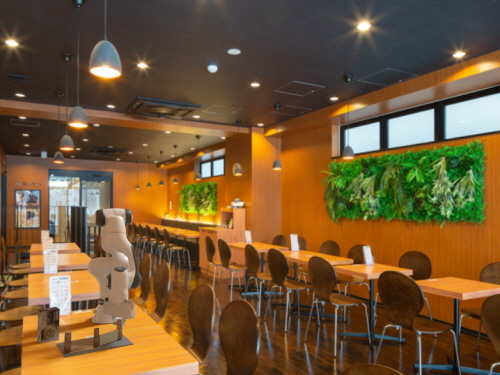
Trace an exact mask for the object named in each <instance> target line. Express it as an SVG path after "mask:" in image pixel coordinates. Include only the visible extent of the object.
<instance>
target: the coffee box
mask: <svg viewBox="0 0 500 375" xmlns="http://www.w3.org/2000/svg"><path fill="white" fill-rule="evenodd" d="M60 314H61V312H60V308H59V307H58V306H52V307H46V308H40V309H38V310H37V331H36V332H37V336H36V341H37V342H38V343H39V344H44V343H50V342H54V341H59V340H60Z"/></svg>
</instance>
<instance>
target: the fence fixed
mask: <svg viewBox="0 0 500 375" xmlns="http://www.w3.org/2000/svg"><path fill="white" fill-rule="evenodd" d="M99 335H100V328H99V327H95V328H93V336H91V337H86V338H80V339H74V340H72V331H69V332H68V331H67V332H64V335H63V337H64V339H63V340H64V341H63V342H64V353H65V354H67V353H70V352H74V351H80V350H85V349H91V348H98V347H99ZM93 337H94V338H93ZM93 343H94V345H93Z"/></svg>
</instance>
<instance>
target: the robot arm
mask: <svg viewBox="0 0 500 375" xmlns="http://www.w3.org/2000/svg"><path fill="white" fill-rule="evenodd" d="M133 219H134V217H133V212H132V210H131V209H129V208H120V207H119V208H104V209H103V208H99V209H96V210H95V213H94V214H93V222H94V225H96V227H100V228H102V229H101V244H100V246H101V249H102V250H103V251H104V252H107V253H108V254H111V255H110V256H107V257H106V256H105V257H104V256H102V257H94V258H91V259H90V260H89V261H88V264H87V272H88V273H89V274H90V275H92V277H94V278H95V279H96V280H97V283H98V285H99V286H98V287H99V298H98V304H97V306H96V308H95V309H93V310H92V311H93V312H92V314H93V315H92V316H91V322H92V324H105V325H106V324H112V325H113V326H117V319H122V323H120V326H123V327H125V325H126V321H127V320H131V319H135V317H136V307H135V306H136V305H135V302H134V301H133V300H132V299H129V290H136V289H137V288H139V287H140V286H141V284H142V276H141V273H140V270H139V266H138V261H137V256H136V253H135V252H136V251H135V248H134V246H133V243H132V242H130V241H129V240H128V238H127V229H126V227H128V226H130V225H131V224H132V222H133Z"/></svg>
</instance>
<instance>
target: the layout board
mask: <svg viewBox="0 0 500 375" xmlns="http://www.w3.org/2000/svg"><path fill="white" fill-rule="evenodd" d="M92 337H93V338H94V336H92ZM56 345H57V347H58V349H59V350H60V352H61V354H62V355H63V357H64V358H68V357H69V358H70V357H74V356H79V355H83V354H84V355H85V354H86V355H87V354H89V353H95V352H96V353H97V352H101V351H106V350H111V349H116V348H123V347H127V346H133V345H134V343H133V341H131V340H130V339H129V338H128V337H126V336H125V335H124V334H123V333H122V339H121V340H116V341H113V342H110V343H107V344H104V345H101V346H99V347H98V348H91V349H85V350H80V351H74V352H70V353H67V354H65V353H64V341H63V342H62V341H61V342H57V343H56ZM93 345H94V343H93Z"/></svg>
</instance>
